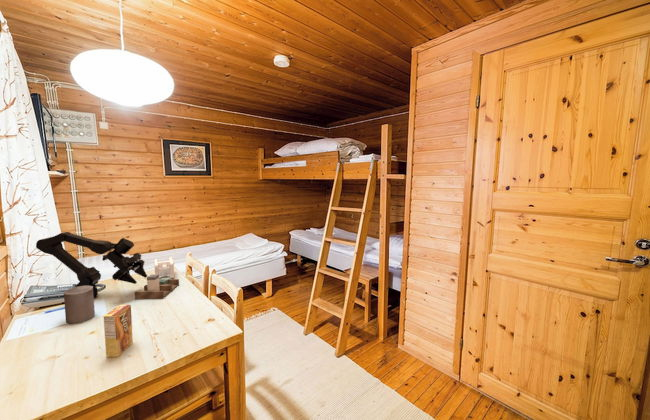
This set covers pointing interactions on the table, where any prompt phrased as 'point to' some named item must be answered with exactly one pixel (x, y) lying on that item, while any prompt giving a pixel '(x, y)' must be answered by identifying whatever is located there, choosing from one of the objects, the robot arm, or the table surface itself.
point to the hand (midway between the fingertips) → (141, 280)
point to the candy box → (118, 330)
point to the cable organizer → (164, 268)
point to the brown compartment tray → (165, 289)
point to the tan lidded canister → (153, 283)
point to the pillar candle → (79, 304)
